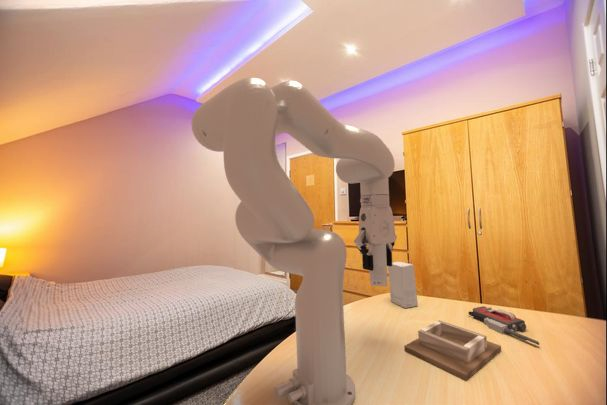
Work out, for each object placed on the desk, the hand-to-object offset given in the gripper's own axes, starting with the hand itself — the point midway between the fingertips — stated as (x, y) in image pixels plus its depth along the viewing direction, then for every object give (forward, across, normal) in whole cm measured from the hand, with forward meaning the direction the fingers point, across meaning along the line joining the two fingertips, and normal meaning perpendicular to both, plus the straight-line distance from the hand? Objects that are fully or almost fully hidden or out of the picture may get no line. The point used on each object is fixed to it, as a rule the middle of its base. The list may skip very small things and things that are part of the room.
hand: (377, 267), depth 69 cm
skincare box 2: (+19, +27, +12) cm, 36 cm away
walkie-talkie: (+20, +33, -17) cm, 42 cm away
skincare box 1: (+5, 0, 0) cm, 5 cm away
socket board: (+19, +9, -14) cm, 26 cm away
